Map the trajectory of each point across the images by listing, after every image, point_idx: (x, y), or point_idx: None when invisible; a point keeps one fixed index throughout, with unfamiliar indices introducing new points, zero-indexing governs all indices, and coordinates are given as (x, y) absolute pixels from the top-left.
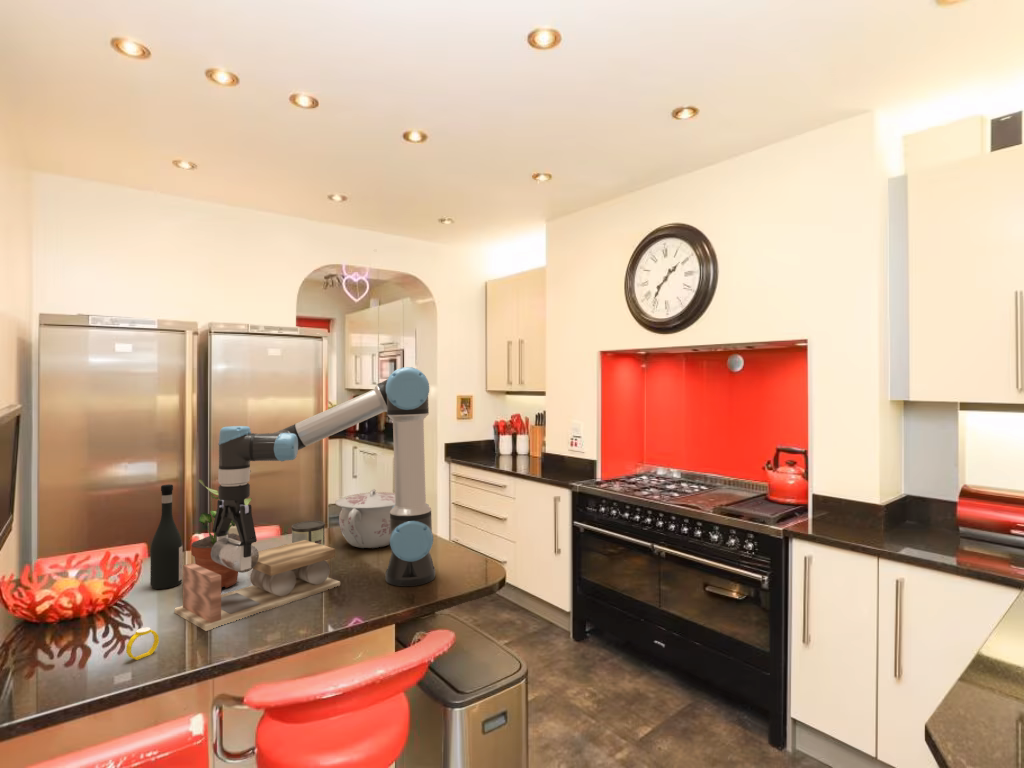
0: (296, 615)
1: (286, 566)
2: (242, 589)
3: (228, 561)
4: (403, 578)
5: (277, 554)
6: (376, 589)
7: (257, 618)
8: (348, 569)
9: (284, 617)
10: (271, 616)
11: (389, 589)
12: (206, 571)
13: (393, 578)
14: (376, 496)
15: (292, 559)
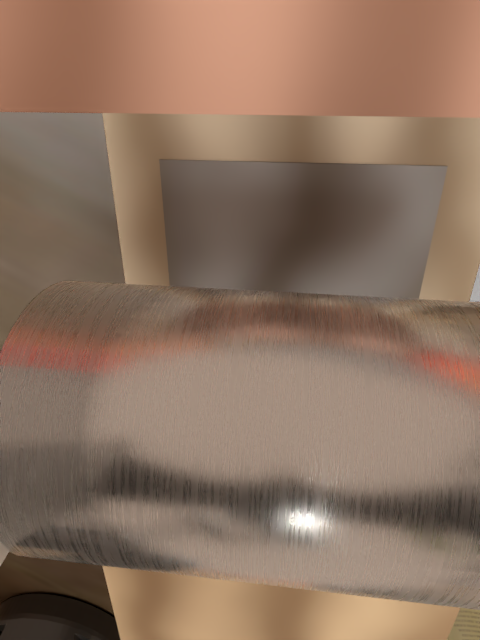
0: (3, 335)
1: None
2: None
3: (125, 295)
4: (2, 621)
5: (289, 591)
6: (51, 562)
7: (78, 234)
8: None
9: (13, 301)
10: (59, 279)
11: (24, 573)
12: (210, 66)
13: (33, 615)
14: None
15: (121, 572)
